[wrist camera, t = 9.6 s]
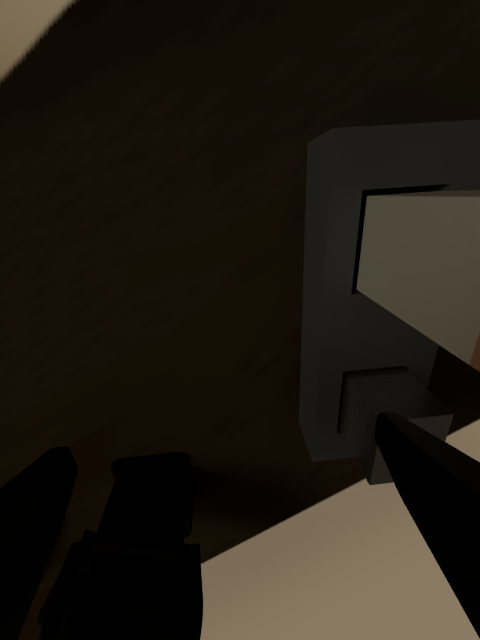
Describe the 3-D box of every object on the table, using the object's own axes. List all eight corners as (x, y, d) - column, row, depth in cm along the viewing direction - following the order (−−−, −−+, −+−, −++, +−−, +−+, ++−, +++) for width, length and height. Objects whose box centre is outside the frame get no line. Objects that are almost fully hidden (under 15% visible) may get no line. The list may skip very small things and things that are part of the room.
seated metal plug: (323, 397, 24) (369, 484, 17) (327, 347, 22) (381, 422, 15) (368, 393, 24) (433, 477, 17) (376, 342, 22) (453, 414, 15)
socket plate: (298, 424, 26) (312, 461, 22) (307, 142, 17) (333, 128, 13) (383, 414, 26) (411, 450, 22) (437, 134, 17) (498, 118, 13)
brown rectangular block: (356, 289, 16) (497, 383, 8) (367, 196, 14) (569, 197, 6) (422, 283, 17) (624, 370, 8) (442, 190, 15) (736, 185, 6)
